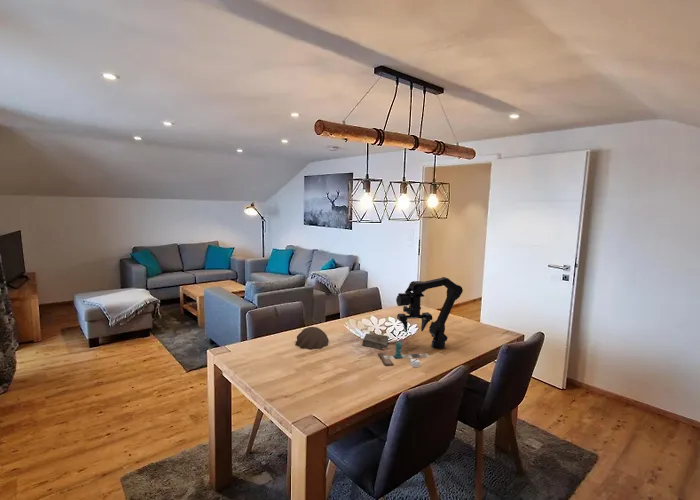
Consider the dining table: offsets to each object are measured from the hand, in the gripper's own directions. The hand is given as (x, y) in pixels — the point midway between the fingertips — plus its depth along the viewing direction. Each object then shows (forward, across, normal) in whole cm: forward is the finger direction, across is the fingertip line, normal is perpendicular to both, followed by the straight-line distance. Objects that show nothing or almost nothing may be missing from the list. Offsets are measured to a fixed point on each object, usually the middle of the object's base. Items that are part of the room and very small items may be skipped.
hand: (414, 331), depth 208 cm
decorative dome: (+12, +55, -21) cm, 60 cm away
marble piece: (+12, +18, -14) cm, 26 cm away
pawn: (+10, +12, +8) cm, 17 cm away
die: (+12, +6, +19) cm, 23 cm away
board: (+12, +7, +8) cm, 16 cm away
